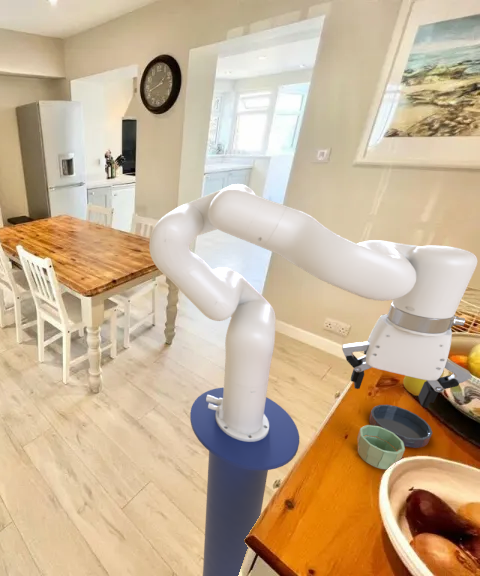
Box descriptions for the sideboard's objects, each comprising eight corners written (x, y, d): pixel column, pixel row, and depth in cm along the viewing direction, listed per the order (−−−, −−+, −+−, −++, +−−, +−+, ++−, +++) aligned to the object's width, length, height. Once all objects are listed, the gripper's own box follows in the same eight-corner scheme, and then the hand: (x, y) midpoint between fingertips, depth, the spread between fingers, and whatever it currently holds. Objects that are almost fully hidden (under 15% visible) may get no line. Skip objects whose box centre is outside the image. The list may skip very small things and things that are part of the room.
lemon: (410, 385, 82) (419, 361, 79) (436, 400, 77) (446, 374, 74) (393, 390, 81) (402, 366, 78) (418, 405, 76) (428, 379, 73)
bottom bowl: (371, 436, 70) (373, 428, 69) (367, 406, 77) (369, 399, 76) (433, 455, 64) (437, 447, 63) (422, 421, 72) (426, 414, 71)
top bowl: (355, 462, 65) (361, 444, 63) (353, 438, 70) (359, 420, 68) (399, 478, 61) (407, 459, 59) (394, 451, 66) (401, 432, 64)
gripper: (485, 318, 51) (446, 397, 58) (352, 299, 60) (332, 368, 67) (504, 341, 45) (458, 425, 52) (355, 316, 55) (333, 389, 62)
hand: (387, 393), depth 60 cm, fingers open, 9 cm apart
